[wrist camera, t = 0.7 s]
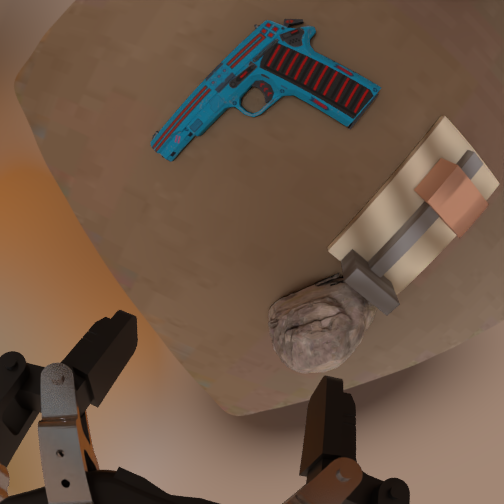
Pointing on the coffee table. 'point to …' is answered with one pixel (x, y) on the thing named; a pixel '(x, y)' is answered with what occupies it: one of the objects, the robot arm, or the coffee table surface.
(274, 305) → the rock
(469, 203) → the slider block
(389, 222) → the rail board
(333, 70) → the handgun
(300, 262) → the coffee table surface
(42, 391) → the robot arm
